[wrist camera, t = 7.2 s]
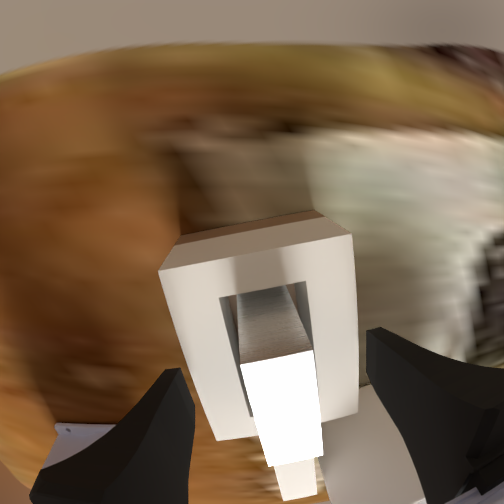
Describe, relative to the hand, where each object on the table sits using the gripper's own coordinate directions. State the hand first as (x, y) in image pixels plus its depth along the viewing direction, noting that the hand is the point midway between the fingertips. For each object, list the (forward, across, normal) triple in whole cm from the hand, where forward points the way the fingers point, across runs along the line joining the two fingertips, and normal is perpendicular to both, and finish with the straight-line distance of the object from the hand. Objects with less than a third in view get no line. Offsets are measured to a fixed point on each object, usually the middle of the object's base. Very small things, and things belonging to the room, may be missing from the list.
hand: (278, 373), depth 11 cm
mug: (+7, -8, +12) cm, 16 cm away
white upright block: (+4, 0, 0) cm, 4 cm away
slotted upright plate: (+6, 0, +5) cm, 8 cm away
